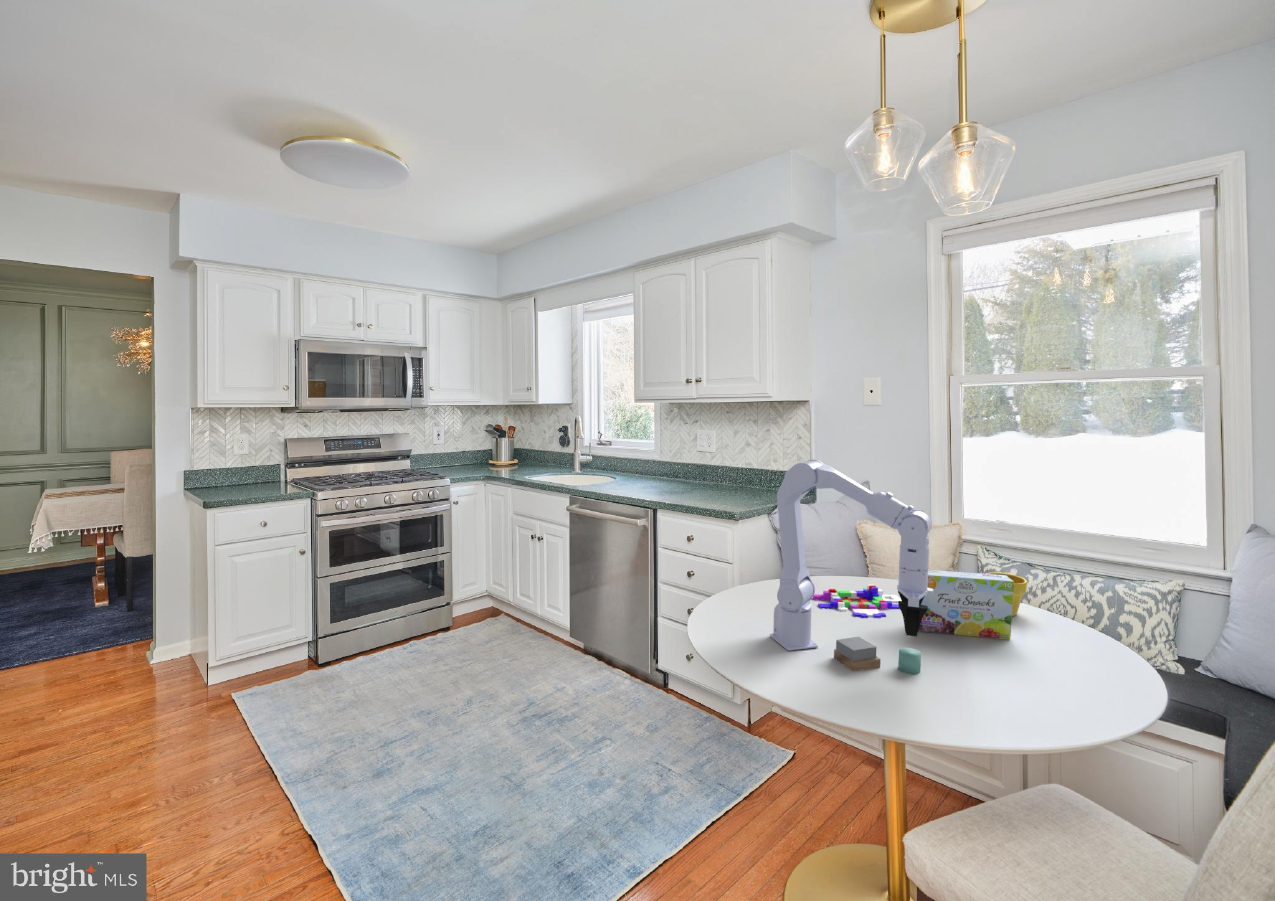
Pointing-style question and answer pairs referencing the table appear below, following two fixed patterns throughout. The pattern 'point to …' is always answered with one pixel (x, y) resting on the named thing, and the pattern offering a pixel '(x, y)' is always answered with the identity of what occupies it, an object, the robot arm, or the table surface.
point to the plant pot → (1016, 589)
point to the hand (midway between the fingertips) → (911, 629)
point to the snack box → (969, 604)
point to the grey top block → (856, 648)
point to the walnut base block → (857, 662)
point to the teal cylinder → (909, 660)
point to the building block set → (870, 593)
